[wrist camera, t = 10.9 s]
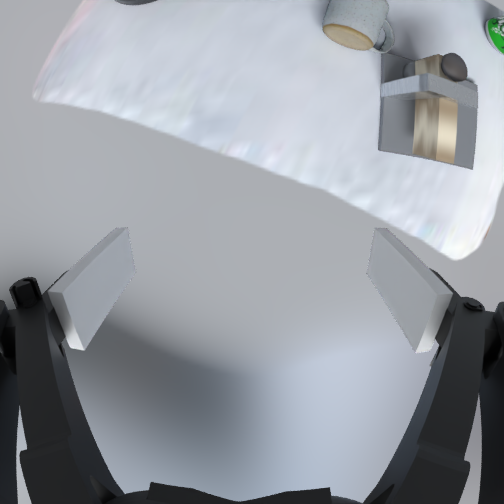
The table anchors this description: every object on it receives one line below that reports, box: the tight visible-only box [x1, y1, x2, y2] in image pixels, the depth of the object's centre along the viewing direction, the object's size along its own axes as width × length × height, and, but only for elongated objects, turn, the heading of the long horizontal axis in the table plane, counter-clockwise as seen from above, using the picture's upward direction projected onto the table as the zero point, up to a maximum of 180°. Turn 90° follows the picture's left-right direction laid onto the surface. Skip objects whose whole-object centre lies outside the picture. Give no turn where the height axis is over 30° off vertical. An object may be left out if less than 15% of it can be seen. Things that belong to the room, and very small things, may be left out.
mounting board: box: [378, 53, 477, 170], centre depth 32 cm, size 15×18×4 cm
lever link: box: [412, 53, 467, 164], centre depth 27 cm, size 14×4×8 cm, turn 179°
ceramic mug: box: [323, 0, 394, 53], centre depth 26 cm, size 11×8×8 cm
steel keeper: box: [381, 73, 478, 108], centre depth 28 cm, size 2×8×13 cm, turn 89°
